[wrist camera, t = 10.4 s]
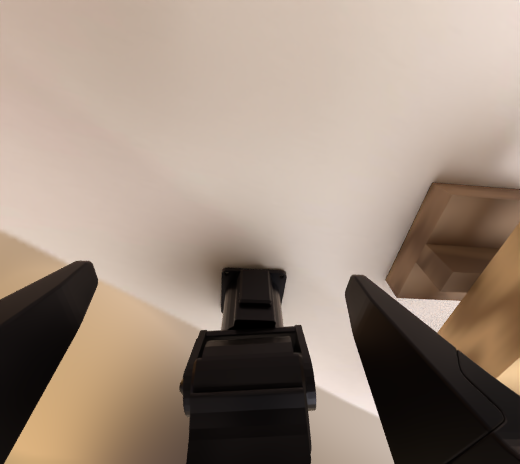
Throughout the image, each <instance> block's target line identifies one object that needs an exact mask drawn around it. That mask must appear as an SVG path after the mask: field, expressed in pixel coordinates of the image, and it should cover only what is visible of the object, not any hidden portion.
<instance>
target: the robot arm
mask: <svg viewBox="0 0 520 464" xmlns="http://www.w3.org/2000/svg"><path fill="white" fill-rule="evenodd" d="M226 272H228V273H226ZM280 275H283V276H280ZM286 278H287V276H286V272H285V271H281V270H261V269H242V268H224V269H223V270H222V296H221V312H222V313H223V318H222V327H221V330H219V331H207V330H201V331H200V333H199V336H198V338H197V339H196V342H195V344H194V347H193V350H192V352H191V355H190V358H189V361H188V363H187V366H186V369H185V371H184V375H183V379H182V381H181V383H180V392H181V393H182V395H183V406H184V412H185V415H186V416H187V417H190V425H189V443H188V453H187V463H186V464H311V455H310V454H311V437H310V426H309V416H308V411H311V410H315V409H316V389H315V380H314V373H313V368H312V363H311V359H310V355H309V351H308V348H307V344H306V341H305V337H304V334H303V330H302V327H301V325H295V326H292V327H283V319H282V311H281V303H282V298H283V293H284V288H285V283H286ZM97 285H98V278H97V275H96V272H95V269H94V266H93V264H92V263H91V262H90V261H75V262H73V263H71V264H69V265H67V266H65V267H63V268H61V269H59V270H58V271H56V272H54V273H52V274H50V275H48V276H46V277H44V278H42V279H40V280H38V281H36V282H34V283H32V284H30V285H28V286H26V287H24V288H22V289H20V290H18V291H16V292H14V293H13V294H10V295H8V296H6V297H4V298H2V299H1V300H0V464H4V463H5V460H6V459H7V457H8V455H9V454H10V452H11V450H12V448H13V446H14V444H15V443H16V441H17V439H18V437H19V436H20V434H21V432H22V430H23V428H24V427H25V425H26V423H27V421H28V419H29V418H30V416H31V414H32V412H33V410H34V408H35V407H36V405H37V403H38V401H39V400H40V398H41V396H42V394H43V392H44V391H45V389H46V387H47V385H48V383H49V382H50V380H51V378H52V376H53V374H54V373H55V371H56V369H57V367H58V365H59V364H60V362H61V360H62V358H63V356H64V354H65V353H66V351H67V349H68V347H69V346H70V344H71V342H72V340H73V339H74V337H75V335H76V333H77V331H78V329H79V327H80V325H81V323H82V321H83V319H84V316H85V314H86V312H87V309H88V307H89V304H90V302H91V300H92V297H93V295H94V293H95V290H96V288H97ZM345 298H346V303H347V308H348V313H349V318H350V323H351V328H352V332H353V336H354V340H355V343H356V346H357V349H358V352H359V355H360V359H361V362H362V365H363V368H364V371H365V374H366V377H367V380H368V383H369V386H370V389H371V393H372V396H373V399H374V402H375V405H376V408H377V411H378V414H379V417H380V420H381V423H382V426H383V430H384V433H385V436H386V439H387V442H388V445H389V448H390V451H391V454H392V457H393V460H394V464H520V395H518V394H517V393H515V392H514V391H512V390H511V389H510V388H508V387H507V386H506V385H504V384H503V383H501V382H500V381H499V380H497V379H496V378H495V377H493V376H492V375H490V374H489V373H488V372H486V371H485V370H484V369H483V368H481V367H480V366H479V365H477V364H476V363H475V362H473V361H472V360H471V359H470V358H468V357H467V356H466V355H465V354H463V353H462V352H461V351H459V350H456V348H455V347H454V346H453V345H452V344H450V343H449V342H448V341H447V340H445V339H444V338H443V337H442V336H440V335H439V334H438V333H437V332H435V331H434V330H433V329H431V328H430V327H429V326H428V325H426V324H425V323H424V322H423V321H421V320H420V319H419V318H418V317H416V316H415V315H414V314H413V313H411V312H410V311H409V310H407V309H406V308H405V307H404V306H402V305H401V304H400V303H399V302H397V301H396V300H395V299H394V298H392V297H391V296H390V295H388V294H387V293H386V292H385V291H383V290H382V289H381V288H380V287H378V286H377V285H376V284H375V283H373V282H372V281H371V280H369V279H368V278H367V277H366V276H364V275H352V276H351V277H350V280H349V282H348V285H347V288H346V291H345Z"/></svg>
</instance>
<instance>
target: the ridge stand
mask: <svg viewBox="0 0 520 464" xmlns="http://www.w3.org/2000/svg"><path fill="white" fill-rule="evenodd" d="M519 222H520V189H507V188H494V187H482V186H469V185H456V184H444V183H432V185H431V187H430V189H429V191H428V193H427V195H426V197H425V199H424V201H423V203H422V205H421V207H420V210H419V212H418V214H417V216H416V218H415V220H414V222H413V224H412V226H411V228H410V230H409V232H408V234H407V237H406V239H405V241H404V243H403V245H402V247H401V249H400V251H399V253H398V255H397V257H396V259H395V262H394V264H393V266H392V268H391V270H390V272H389V274H388V276H387V278H386V281H387V283H388V285H389V286H390V288H391V289H392V291H393V293H394V294H395V296H396V297H397V298H411V299H434V300H456V301H461V300H462V299H463V298H464V296H465V295H466V294H467V292H468V291H469V290H470V288H471V287H472V286H473V284H474V283H475V282H476V280H477V279H478V277H479V276H480V275H481V273H482V272H483V271H484V269H485V268H486V267H487V265H488V264H489V263H490V261H491V260H492V259H493V257H494V256H495V255H496V253H497V252H498V251H499V249H500V248H501V247H502V245H503V244H504V242H505V241H506V240H507V238H508V237H509V236H510V234H511V233H512V232H513V230H514V229H515V228H516V226H517V225H518V224H519Z"/></svg>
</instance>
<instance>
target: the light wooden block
mask: <svg viewBox="0 0 520 464" xmlns="http://www.w3.org/2000/svg"><path fill="white" fill-rule="evenodd" d="M438 334H439V335H440V336H442V337H443V338H444V339H445V340H447V341H448V342H449V343H450V344H452V345H453V346H454V347H455V348H456V350H459V351H461V352H462V353H463V354H465V355H466V356H467V357H468V358H470V359H471V360H472V361H473V362H475V363H476V364H477V365H479V366H480V367H481V368H483V369H484V370H485V371H486V372H488V373H489V374H490V375H492V376H493V377H495V378H496V379H497V380H499V381H500V382H501V383H503V384H504V385H506V386H507V387H508V388H510V389H511V390H512V391H514V392H515V393H517V394H518V395H520V222H519V224H518V225H517V226H516V228H515V229H514V230H513V232H512V233H511V234H510V236H509V237H508V238H507V240H506V241H505V242H504V244H503V245H502V247H501V248H500V249H499V251H498V252H497V253H496V255H495V256H494V257H493V259H492V260H491V261H490V263H489V264H488V265H487V267H486V268H485V269H484V271H483V272H482V273H481V275H480V276H479V277H478V279H477V280H476V282H475V283H474V284H473V286H472V287H471V288H470V290H469V291H468V292H467V294H466V295H465V296H464V298H463V299H462V300H461V302H460V303H459V304H458V306H457V307H456V308H455V310H454V311H453V313H452V314H451V315H450V317H449V318H448V319H447V321H446V322H445V323H444V325H443V326H442V327H441V329H440V330H439V331H438Z"/></svg>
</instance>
